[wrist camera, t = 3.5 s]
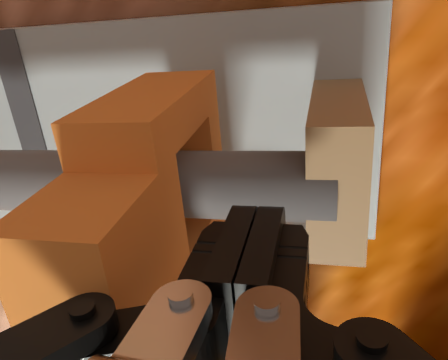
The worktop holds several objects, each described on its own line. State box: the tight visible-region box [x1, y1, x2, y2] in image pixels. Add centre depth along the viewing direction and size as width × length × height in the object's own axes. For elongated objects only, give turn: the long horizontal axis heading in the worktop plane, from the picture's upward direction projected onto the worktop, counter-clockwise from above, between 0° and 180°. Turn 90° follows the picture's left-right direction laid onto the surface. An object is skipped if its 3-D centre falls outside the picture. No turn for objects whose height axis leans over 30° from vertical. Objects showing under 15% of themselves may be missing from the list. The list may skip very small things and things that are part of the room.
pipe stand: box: [0, 0, 393, 267], centre depth 19 cm, size 24×11×8 cm, turn 95°
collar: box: [0, 70, 225, 327], centre depth 15 cm, size 3×7×10 cm, turn 5°
